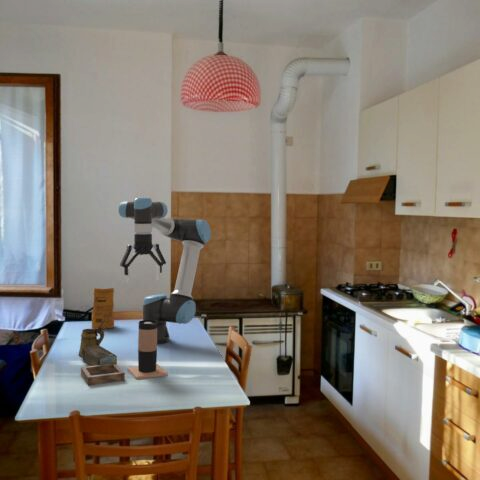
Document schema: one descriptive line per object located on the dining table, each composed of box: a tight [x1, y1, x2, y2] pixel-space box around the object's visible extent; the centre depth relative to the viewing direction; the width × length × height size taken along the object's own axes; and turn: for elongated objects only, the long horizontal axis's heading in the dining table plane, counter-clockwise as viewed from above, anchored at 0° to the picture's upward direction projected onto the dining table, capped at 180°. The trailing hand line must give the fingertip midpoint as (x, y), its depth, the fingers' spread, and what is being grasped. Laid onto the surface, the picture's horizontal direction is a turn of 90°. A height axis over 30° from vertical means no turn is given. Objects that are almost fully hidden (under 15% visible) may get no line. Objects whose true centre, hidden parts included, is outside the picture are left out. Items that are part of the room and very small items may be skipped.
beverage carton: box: [81, 345, 118, 366], centre depth 227 cm, size 8×19×7 cm, turn 38°
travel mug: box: [137, 319, 158, 373], centre depth 217 cm, size 8×8×20 cm
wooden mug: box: [78, 316, 109, 358], centre depth 242 cm, size 9×14×18 cm, turn 93°
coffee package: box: [91, 287, 115, 330], centre depth 295 cm, size 10×12×22 cm
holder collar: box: [80, 363, 126, 386], centre depth 210 cm, size 14×14×3 cm
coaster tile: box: [126, 363, 169, 380], centre depth 218 cm, size 13×13×1 cm
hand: (143, 281), depth 233 cm, fingers open, 13 cm apart
